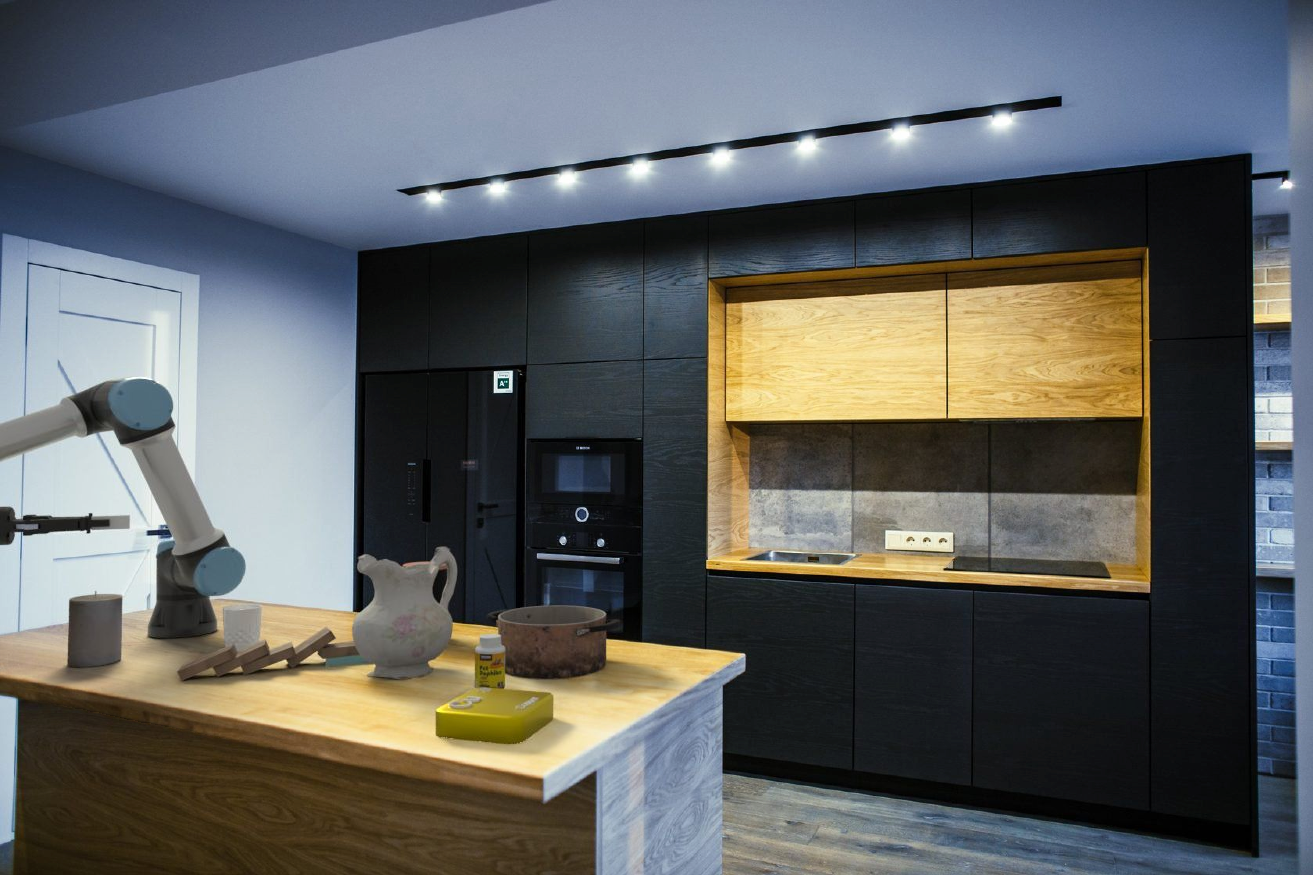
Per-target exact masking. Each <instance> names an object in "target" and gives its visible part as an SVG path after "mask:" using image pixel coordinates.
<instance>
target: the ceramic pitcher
mask: <svg viewBox="0 0 1313 875" xmlns="http://www.w3.org/2000/svg"><path fill="white" fill-rule="evenodd" d="M434 550H435V551H434V556H433V557H432V559H431V560H430V561H429V562H430V563H429V564H415V565H412V566H407V567H405V568H404V567H403V565H402V566H401V565H400V564H399V563H398V562H396V561H393V560H389V559H387V558H384V559H379V560H377V558H375V557H374V556H372V555H370V554H365V553H364V554H362V555H360V556H358V557H357V559H358V562H357V571H358V572H359V573H360V574H363V575H366V576H368V577H369V578H370V579H371V581H372V584H373V589H374V597H373V599H372V601H371V602H370V603H369V604H368V605H367V606H365V607H364V608H363V610H362V611H360V612H359V613H357V614H356V615H355V617H354V619H353V622H352V626H351V633H352V635H351V636H352V641H354V644H355V647H356V649H357V651H358V653H359V654H360V655H361V657H362V658H363V659H364V660H366V661H367V662H370V663H369V664H374V665H375V666H374V669H373V671H371V672H369V673H367V674H366V676H367V677H379V678H383V677H384V678H389V679H395V680H400V679H401V680H404V679H405V680H406V679H410V678H423V677H424V676H426V675H428V674H431V672H433V670H434V668H433V667H431V665H430V664H429V662H431V661H433V660H434V661H435V659H437V658H438V657H439V656H440V655H442V653H443V652H444V651H445V650H446V648H447V647H448V645H449V643H450V641H451V638H452V635H453V628H454V627H453V626H454V624H453V618H452V614H451V613H450V611H449V612H448V603H449V604H450V600H451V599H452V597H453V595H454V591H455V587H456V583H457V578H458V577H457V576H458V565H457V561H456V559H455V556H454V555H453V553H452V552H451V548H449V547H447V545H445V546H444V545H442V546H439V547H436V548H435V549H434ZM443 564H445V565H446V567H447V583H446V585H445V588H444V590H443V594H442V598H441V602H440V604H439V603H437V601H436V600H435V599H434V597H433V593H432V587H433V583H434V579H435V577H436V575H437V573H438V569H439V567H440V566H441V565H443Z"/></svg>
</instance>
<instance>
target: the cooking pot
mask: <svg viewBox="0 0 1313 875" xmlns="http://www.w3.org/2000/svg"><path fill="white" fill-rule="evenodd" d="M486 619H487V620H488V621H490V622H492V623H493V624H495V623H496V624H495V626H496V628H497V634H499V635H501V645H503V646H504V647H505V675H509V676H512V677H517V678H521V679H522V678H523V679H530V680H531V679H533V680H560V679H570V678H571V679H572V678H578V677H584V676H588V675H591V674H592V675H593V674H595V673H597V672H599V671H601V670H602V669H603V668H605V666H606V664H607V631H610V630H614V629H616V628H619V627H620V626H621V623H622V621H621V619H617V618H615V619H608V620H607V613H606V611H604V610H601V609H599V608H594V607H588V606H579V605H560V604H559V605H538V606H536V605H535V606H527V607H526V606H525V607H520V608H518V607H517V608H514V609H500V610H499V609H498V610H497V611H496V610H495V611H492V612H488V613H487V615H486Z"/></svg>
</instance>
